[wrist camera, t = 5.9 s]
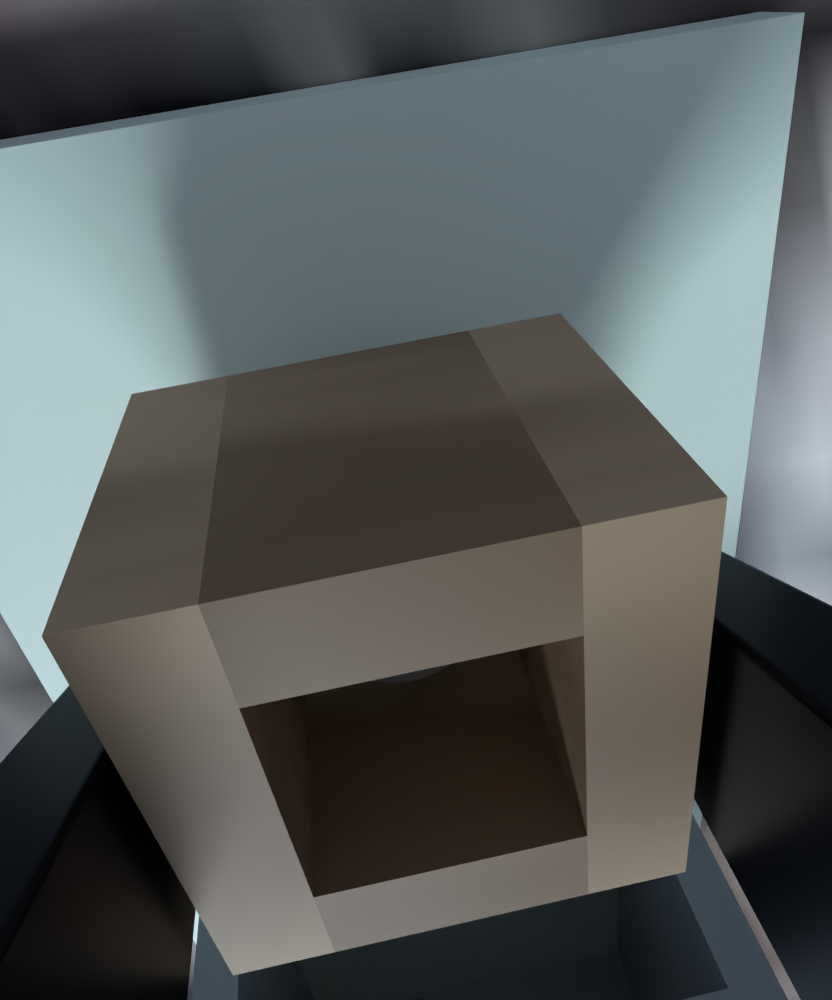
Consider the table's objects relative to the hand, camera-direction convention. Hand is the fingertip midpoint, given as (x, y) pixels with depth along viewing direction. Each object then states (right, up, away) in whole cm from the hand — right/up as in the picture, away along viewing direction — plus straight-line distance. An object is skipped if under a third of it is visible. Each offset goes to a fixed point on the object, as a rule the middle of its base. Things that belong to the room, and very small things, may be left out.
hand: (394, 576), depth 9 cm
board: (0, -3, +6) cm, 7 cm away
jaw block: (0, +1, +1) cm, 1 cm away
